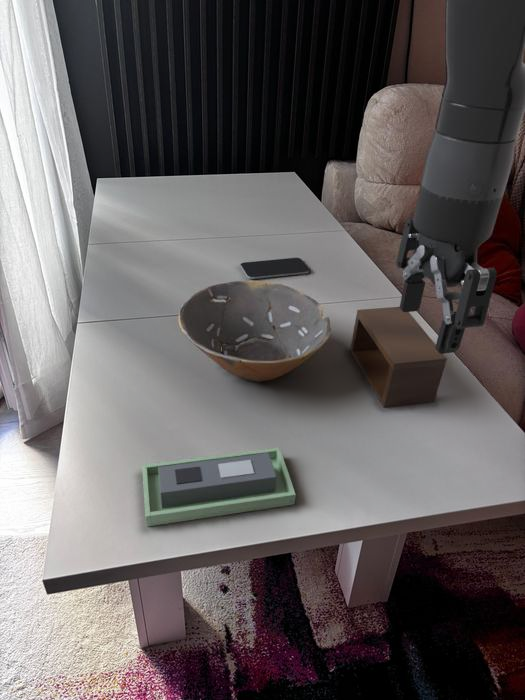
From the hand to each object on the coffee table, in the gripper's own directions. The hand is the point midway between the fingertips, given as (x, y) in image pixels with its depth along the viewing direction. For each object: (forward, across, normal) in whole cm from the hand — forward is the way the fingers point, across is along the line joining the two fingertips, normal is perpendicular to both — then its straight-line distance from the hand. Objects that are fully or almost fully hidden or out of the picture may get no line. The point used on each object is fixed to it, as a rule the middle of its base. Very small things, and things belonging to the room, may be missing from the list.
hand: (426, 329), depth 61 cm
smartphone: (+25, +65, -1) cm, 70 cm away
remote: (+25, +4, +23) cm, 34 cm away
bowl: (+26, +31, +12) cm, 42 cm away
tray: (+26, +4, +23) cm, 35 cm away
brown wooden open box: (+26, +24, -11) cm, 37 cm away
